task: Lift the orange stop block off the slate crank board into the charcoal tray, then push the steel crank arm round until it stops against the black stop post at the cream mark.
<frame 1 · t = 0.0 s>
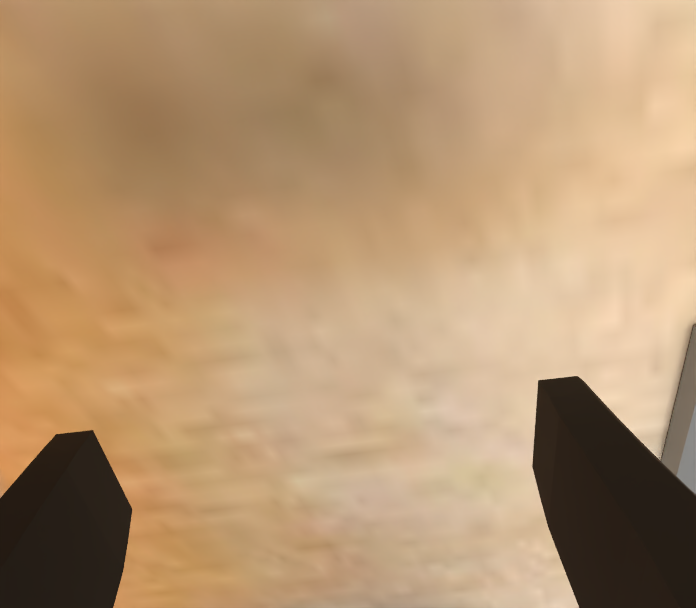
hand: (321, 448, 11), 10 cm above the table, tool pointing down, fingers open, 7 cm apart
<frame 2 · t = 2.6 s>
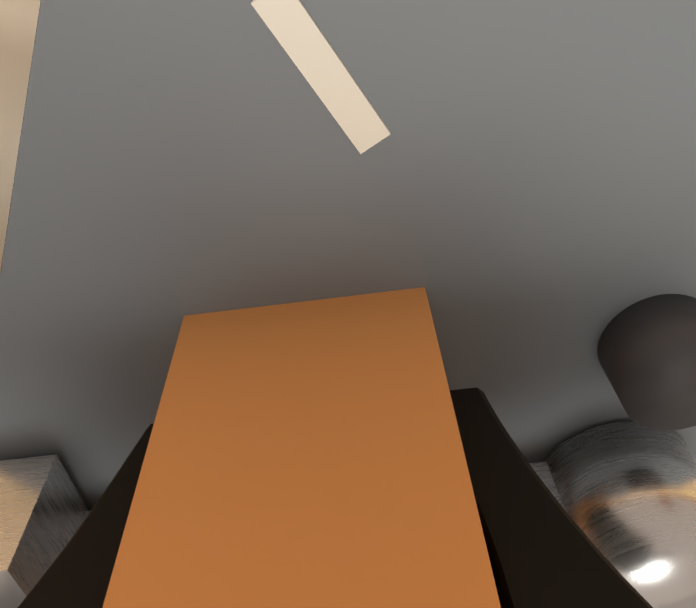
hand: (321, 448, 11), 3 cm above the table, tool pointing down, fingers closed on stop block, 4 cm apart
crank: (353, 586, 12), point 3 cm above the table, hinge at 0.0°
stop block: (320, 390, 12), point 1 cm above the table, touching crank board, gripper
crank board: (407, 331, 13), on the table
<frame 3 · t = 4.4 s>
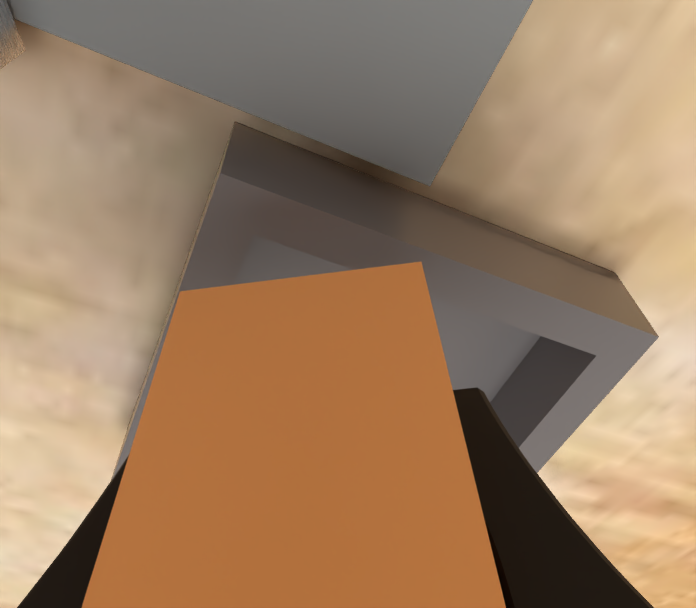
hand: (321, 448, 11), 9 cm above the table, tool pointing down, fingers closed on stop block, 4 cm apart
tray: (353, 357, 22), on the table
stop block: (317, 368, 12), point 8 cm above the table, touching gripper
when the fingers open (3 cm above the table, at t = 6.4 s): stop block drops 1 cm, resting on tray.
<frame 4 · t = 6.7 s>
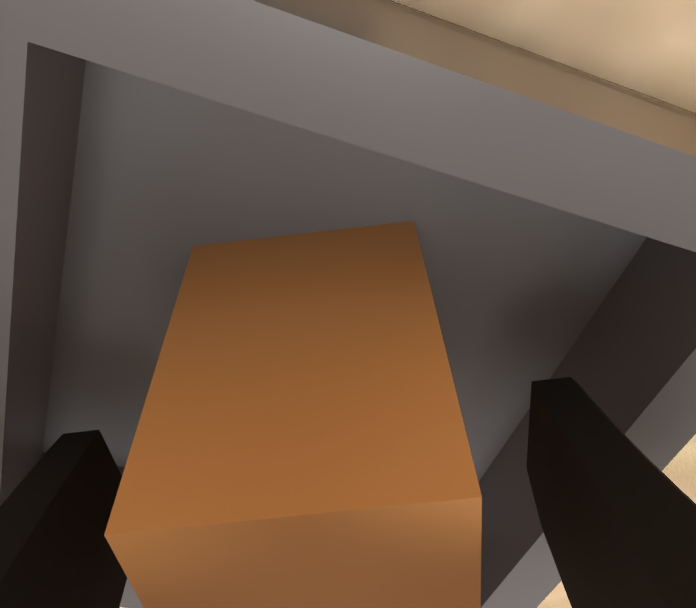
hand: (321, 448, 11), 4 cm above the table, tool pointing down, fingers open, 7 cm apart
tray: (321, 320, 14), on the table
stop block: (318, 321, 13), point 1 cm above the table, touching tray
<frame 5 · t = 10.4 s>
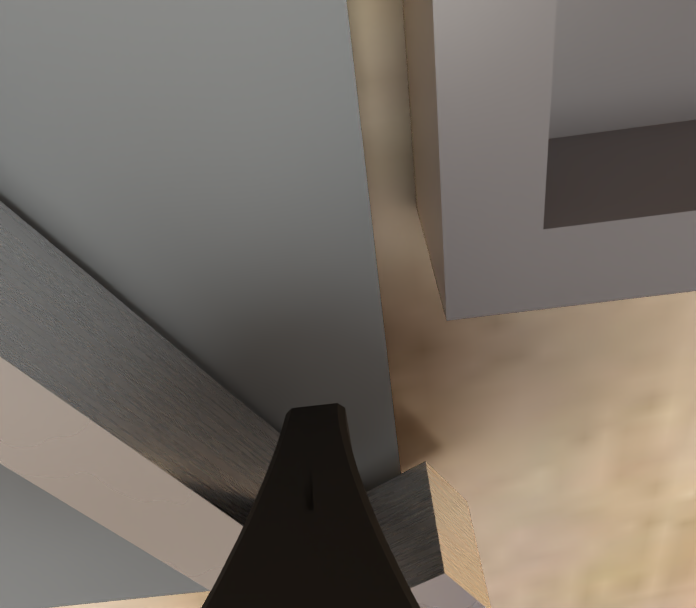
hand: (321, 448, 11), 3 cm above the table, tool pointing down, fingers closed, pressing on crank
crank: (105, 438, 10), point 3 cm above the table, hinge at -0.1°, touching gripper
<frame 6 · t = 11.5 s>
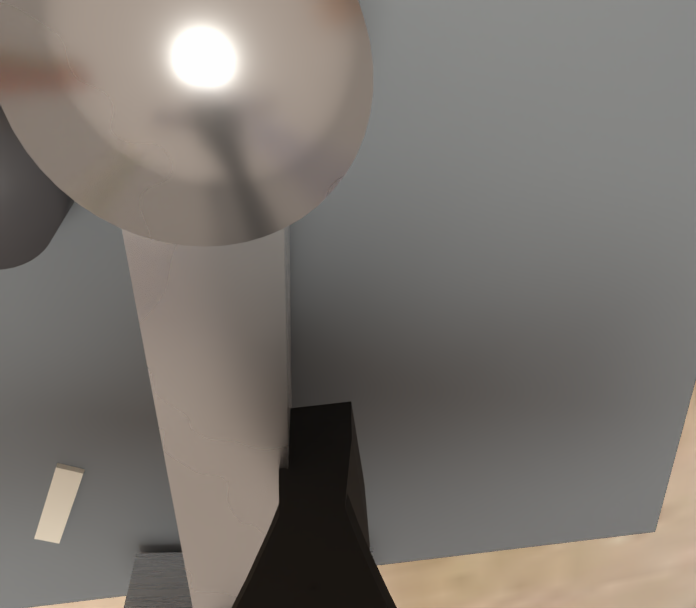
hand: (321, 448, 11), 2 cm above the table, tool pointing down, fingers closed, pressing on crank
crank: (233, 445, 9), point 3 cm above the table, hinge at -39.6°, touching gripper
crank board: (238, 299, 12), on the table
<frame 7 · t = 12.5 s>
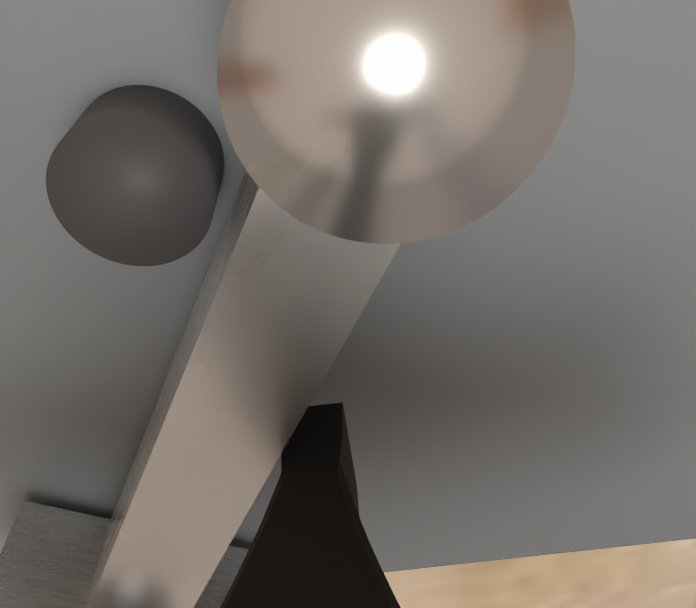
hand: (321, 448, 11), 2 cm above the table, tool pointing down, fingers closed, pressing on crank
crank: (220, 421, 9), point 3 cm above the table, hinge at -61.2°, touching gripper
crank board: (341, 299, 12), on the table
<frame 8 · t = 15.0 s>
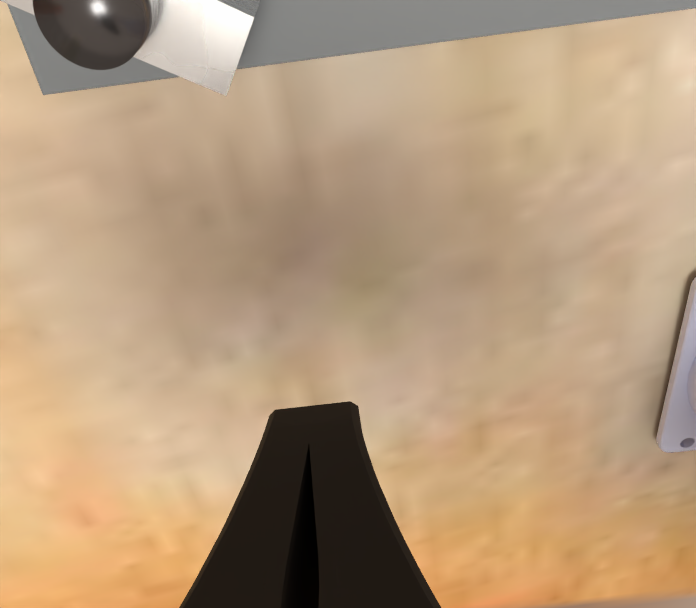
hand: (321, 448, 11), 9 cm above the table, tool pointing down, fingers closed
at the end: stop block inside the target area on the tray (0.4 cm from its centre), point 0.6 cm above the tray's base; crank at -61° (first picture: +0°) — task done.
